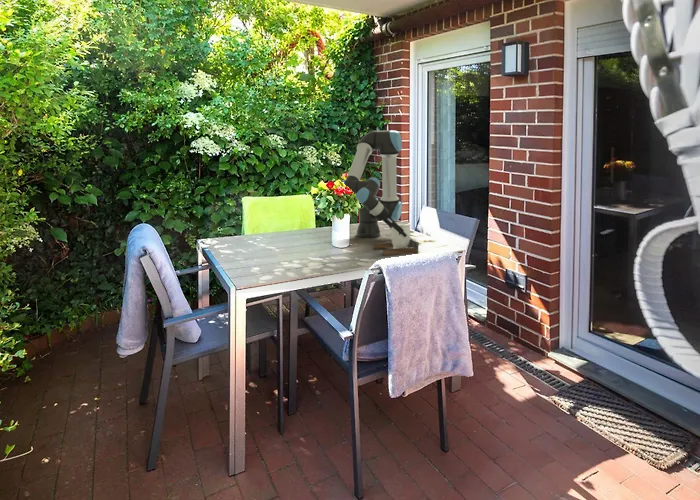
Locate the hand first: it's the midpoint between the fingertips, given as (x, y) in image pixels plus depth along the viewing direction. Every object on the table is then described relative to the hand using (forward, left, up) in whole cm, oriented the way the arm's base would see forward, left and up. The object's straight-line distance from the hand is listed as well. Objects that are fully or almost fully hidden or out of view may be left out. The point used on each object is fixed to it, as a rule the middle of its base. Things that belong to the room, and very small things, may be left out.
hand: (405, 237), depth 288 cm
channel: (0, -6, -7) cm, 9 cm away
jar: (0, -3, -7) cm, 7 cm away
